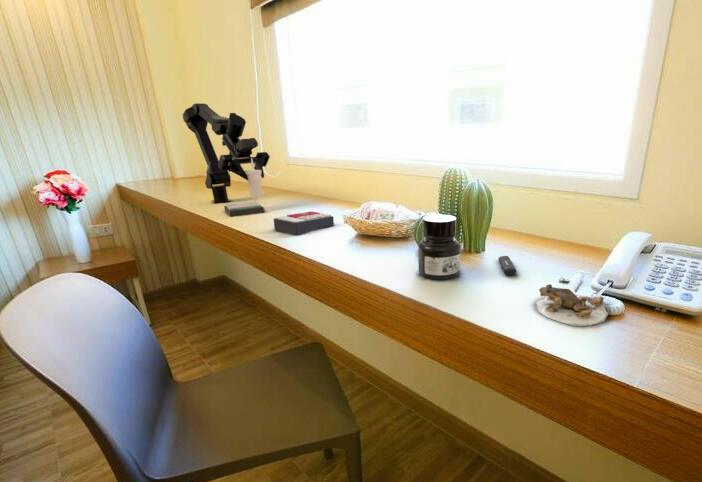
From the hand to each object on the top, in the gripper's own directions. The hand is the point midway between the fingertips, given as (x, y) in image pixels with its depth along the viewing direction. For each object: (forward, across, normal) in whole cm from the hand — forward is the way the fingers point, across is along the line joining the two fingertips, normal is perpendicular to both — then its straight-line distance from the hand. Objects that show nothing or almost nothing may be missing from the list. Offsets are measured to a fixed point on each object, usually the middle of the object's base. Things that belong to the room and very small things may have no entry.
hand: (255, 178), depth 147 cm
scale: (+7, -5, +11) cm, 14 cm away
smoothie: (+4, 0, +6) cm, 7 cm away
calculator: (+35, -7, -18) cm, 40 cm away
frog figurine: (+95, -16, -80) cm, 125 cm away
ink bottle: (+75, -15, -60) cm, 97 cm away
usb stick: (+82, -3, -67) cm, 106 cm away
